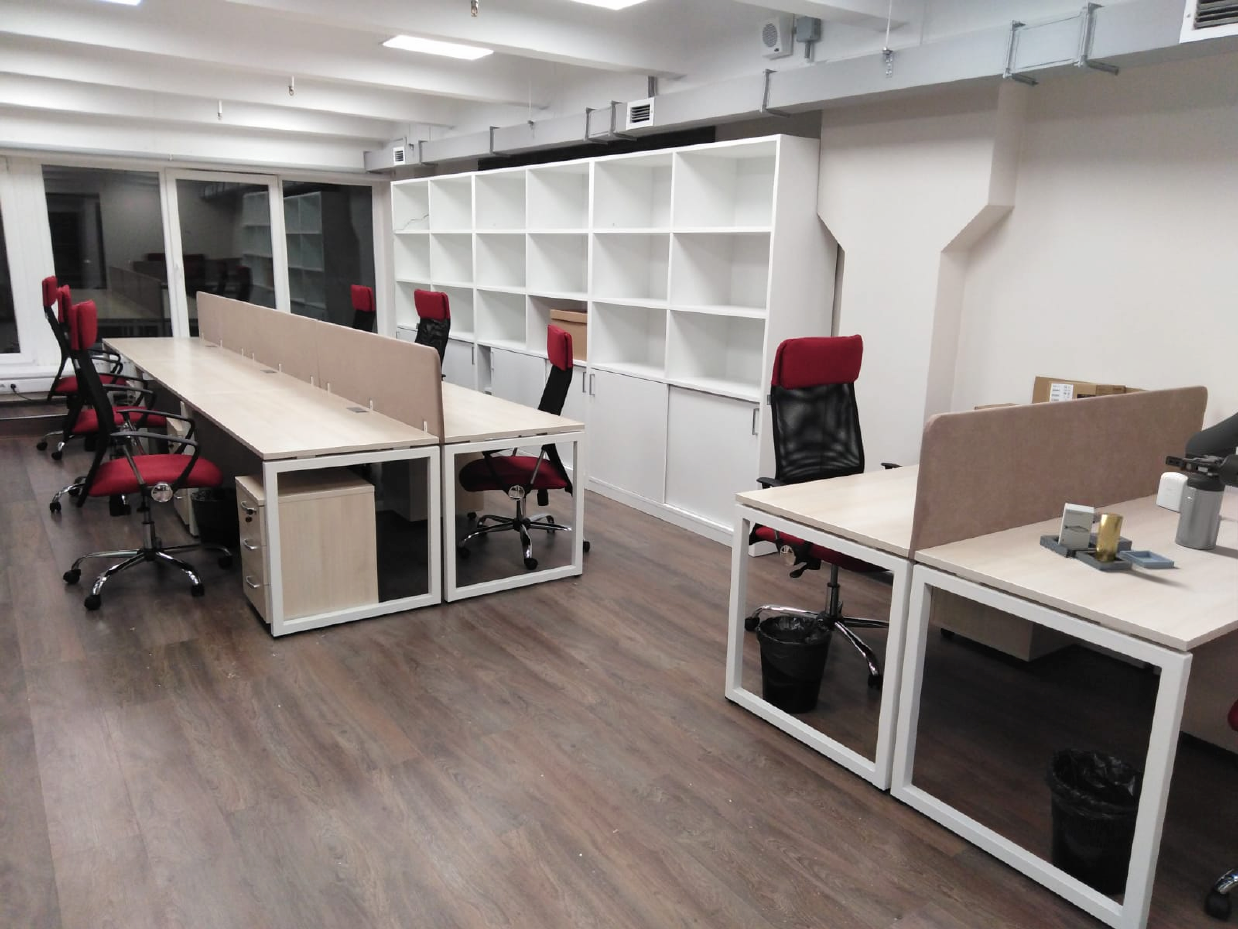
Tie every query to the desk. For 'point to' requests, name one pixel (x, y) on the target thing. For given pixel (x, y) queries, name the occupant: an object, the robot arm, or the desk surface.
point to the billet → (1108, 537)
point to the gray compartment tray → (1084, 554)
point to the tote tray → (1146, 559)
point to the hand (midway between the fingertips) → (1176, 458)
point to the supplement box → (1076, 526)
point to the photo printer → (1171, 491)
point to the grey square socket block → (1122, 544)
